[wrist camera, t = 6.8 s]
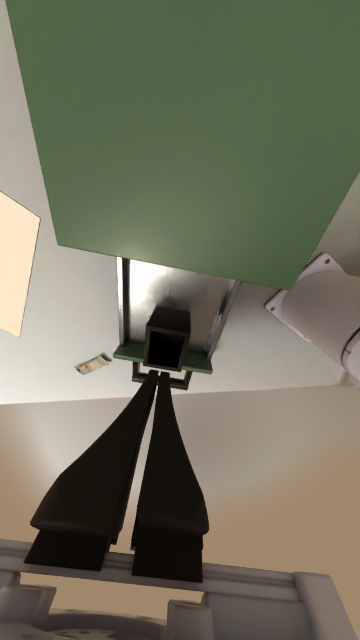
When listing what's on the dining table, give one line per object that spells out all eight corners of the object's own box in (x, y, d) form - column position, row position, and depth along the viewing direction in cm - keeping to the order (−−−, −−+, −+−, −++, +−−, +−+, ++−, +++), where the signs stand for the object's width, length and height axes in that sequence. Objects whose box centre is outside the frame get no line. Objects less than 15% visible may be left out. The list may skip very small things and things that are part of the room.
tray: (200, 374, 25) (202, 396, 22) (125, 362, 25) (114, 382, 21) (239, 266, 16) (254, 273, 13) (123, 243, 16) (105, 243, 12)
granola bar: (101, 352, 24) (98, 357, 23) (111, 361, 25) (108, 366, 24) (75, 365, 26) (71, 369, 25) (84, 373, 27) (81, 377, 26)
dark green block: (248, 270, 17) (298, 294, 9) (113, 243, 16) (47, 245, 9) (329, 69, 10) (750, -449, 3) (103, 9, 10) (-234, -904, 2)
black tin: (182, 345, 21) (180, 372, 16) (152, 340, 20) (142, 366, 16) (190, 311, 18) (191, 333, 14) (155, 305, 18) (145, 325, 14)
